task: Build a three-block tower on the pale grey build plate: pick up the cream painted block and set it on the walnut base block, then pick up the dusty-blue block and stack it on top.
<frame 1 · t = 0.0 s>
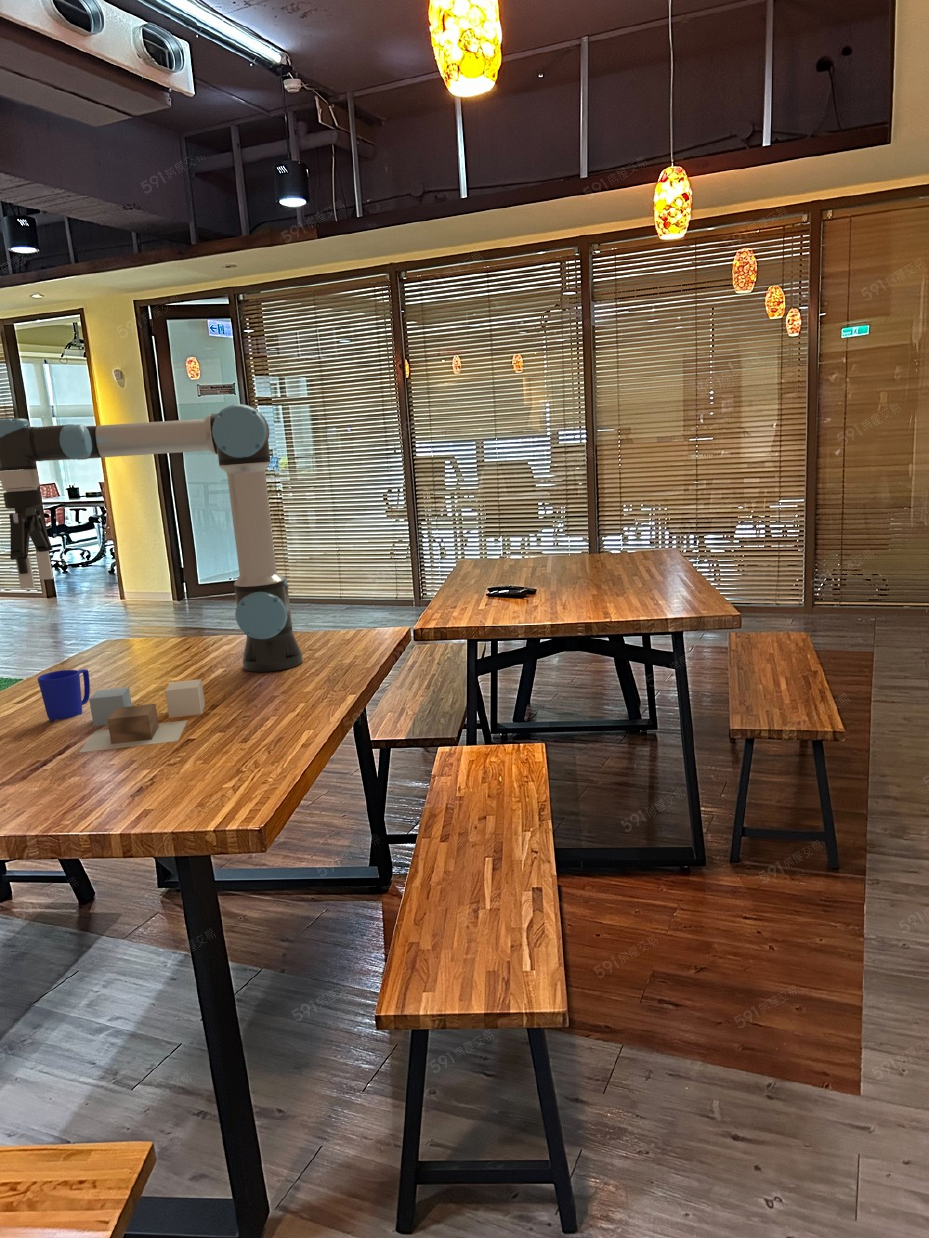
hand: (37, 583, 195), 28 cm above the table, fingers open, 13 cm apart
brick c: (114, 724, 180), on the table
mug: (72, 716, 188), on the table
brick b: (188, 716, 182), on the table
build plate: (136, 740, 168), on the table
base brick: (135, 735, 168), point 1 cm above the table, touching build plate
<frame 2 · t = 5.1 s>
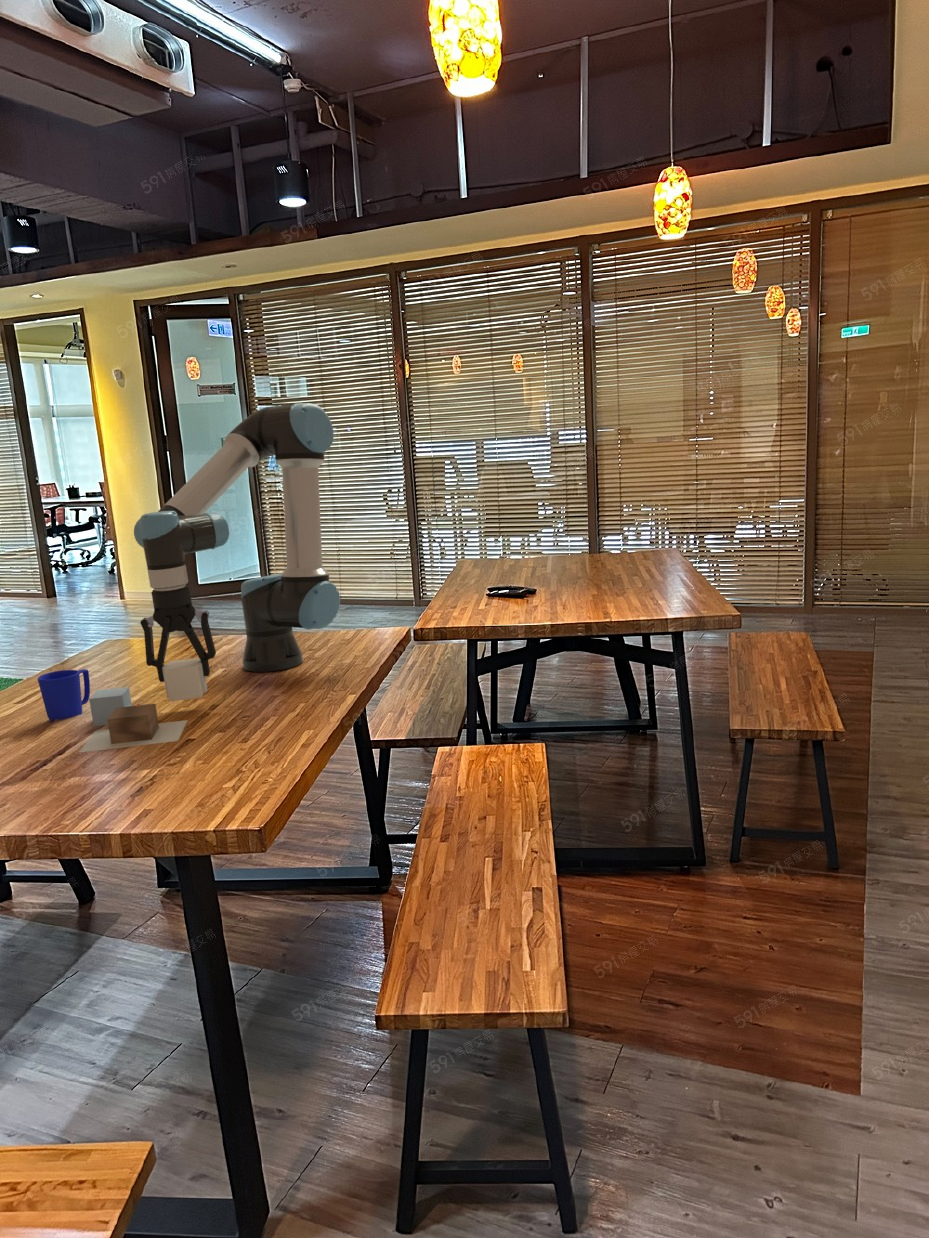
hand: (187, 693, 181), 5 cm above the table, fingers closed on brick b, 6 cm apart
brick b: (187, 695, 182), point 4 cm above the table, touching gripper
everything else where it was.
when the fingers open (8 cm above the table, at t = 8.7 s): brick b drops 1 cm, resting on base brick.
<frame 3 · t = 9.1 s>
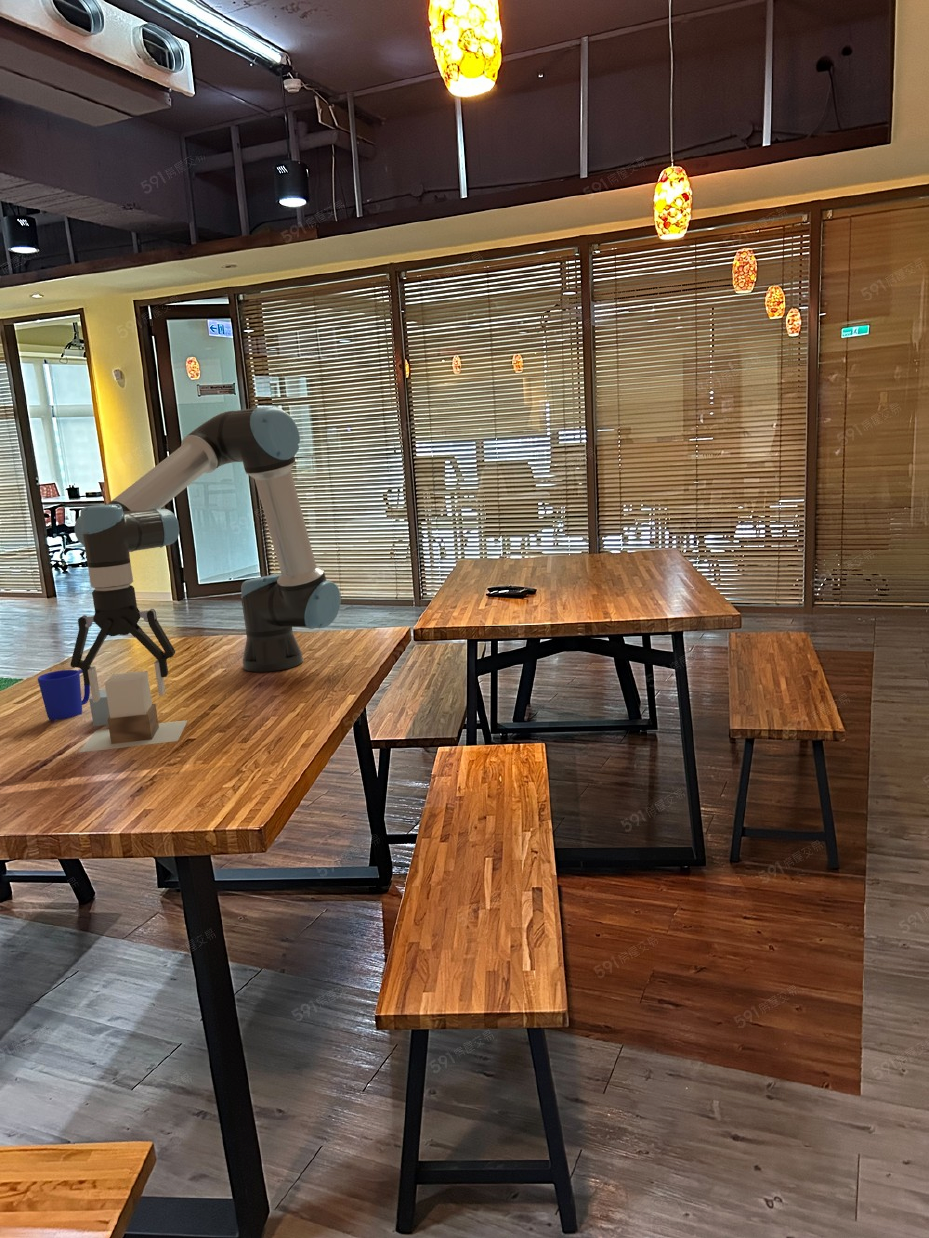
hand: (129, 697, 166), 9 cm above the table, fingers open, 11 cm apart
brick b: (131, 711, 167), point 6 cm above the table, touching base brick
base brick: (135, 735, 168), point 1 cm above the table, touching brick b, build plate
everything else where it was.
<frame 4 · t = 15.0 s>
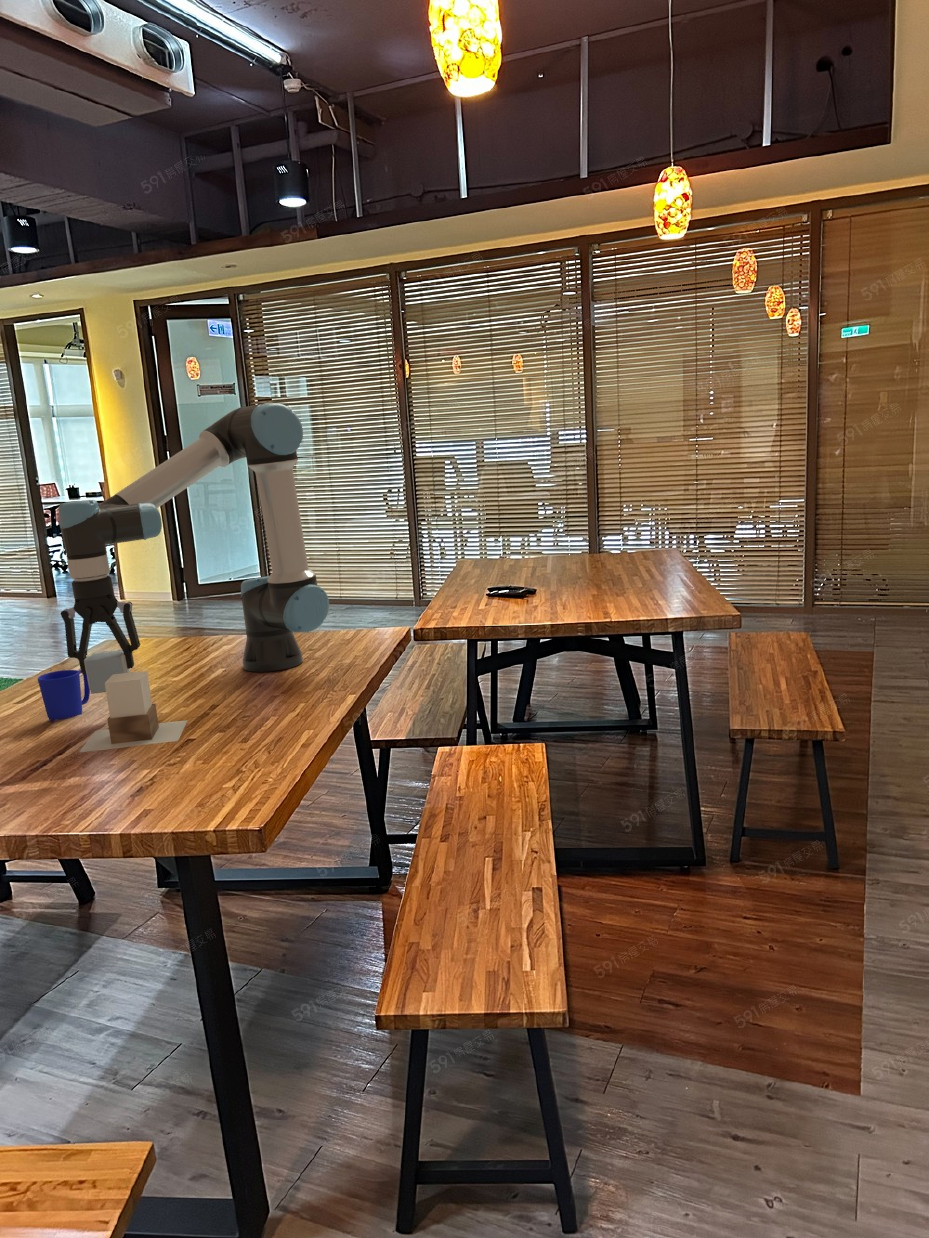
hand: (111, 685, 178), 8 cm above the table, fingers closed on brick c, 6 cm apart
brick c: (111, 687, 178), point 8 cm above the table, touching gripper
everything else where it was.
when the fingers open (15 cm above the table, at t = 18.6 s): brick c drops 1 cm, resting on brick b.
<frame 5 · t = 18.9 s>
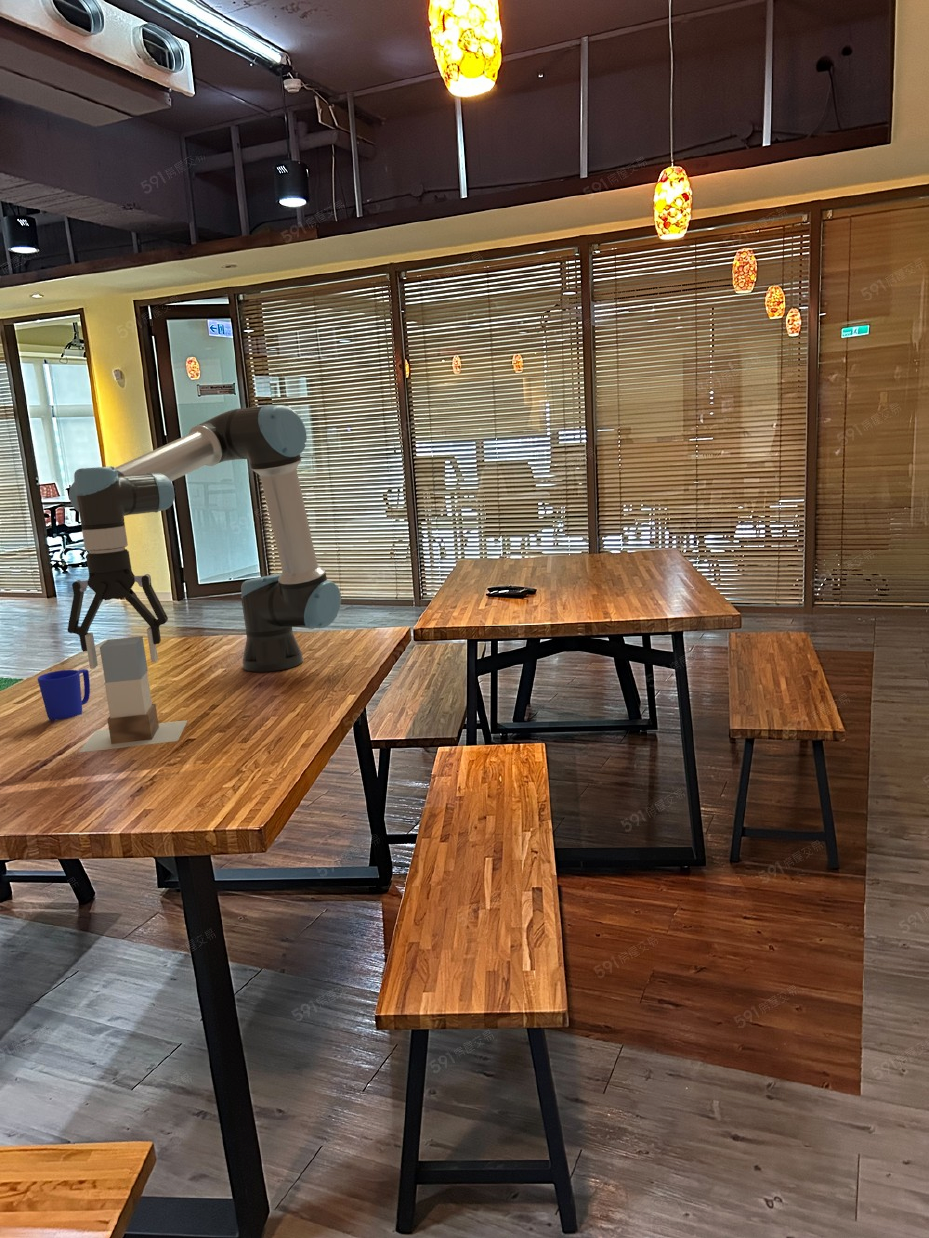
hand: (124, 663, 165), 16 cm above the table, fingers open, 10 cm apart
brick c: (127, 676, 165), point 13 cm above the table, touching brick b
brick b: (131, 711, 167), point 6 cm above the table, touching base brick, brick c
everything else where it was.
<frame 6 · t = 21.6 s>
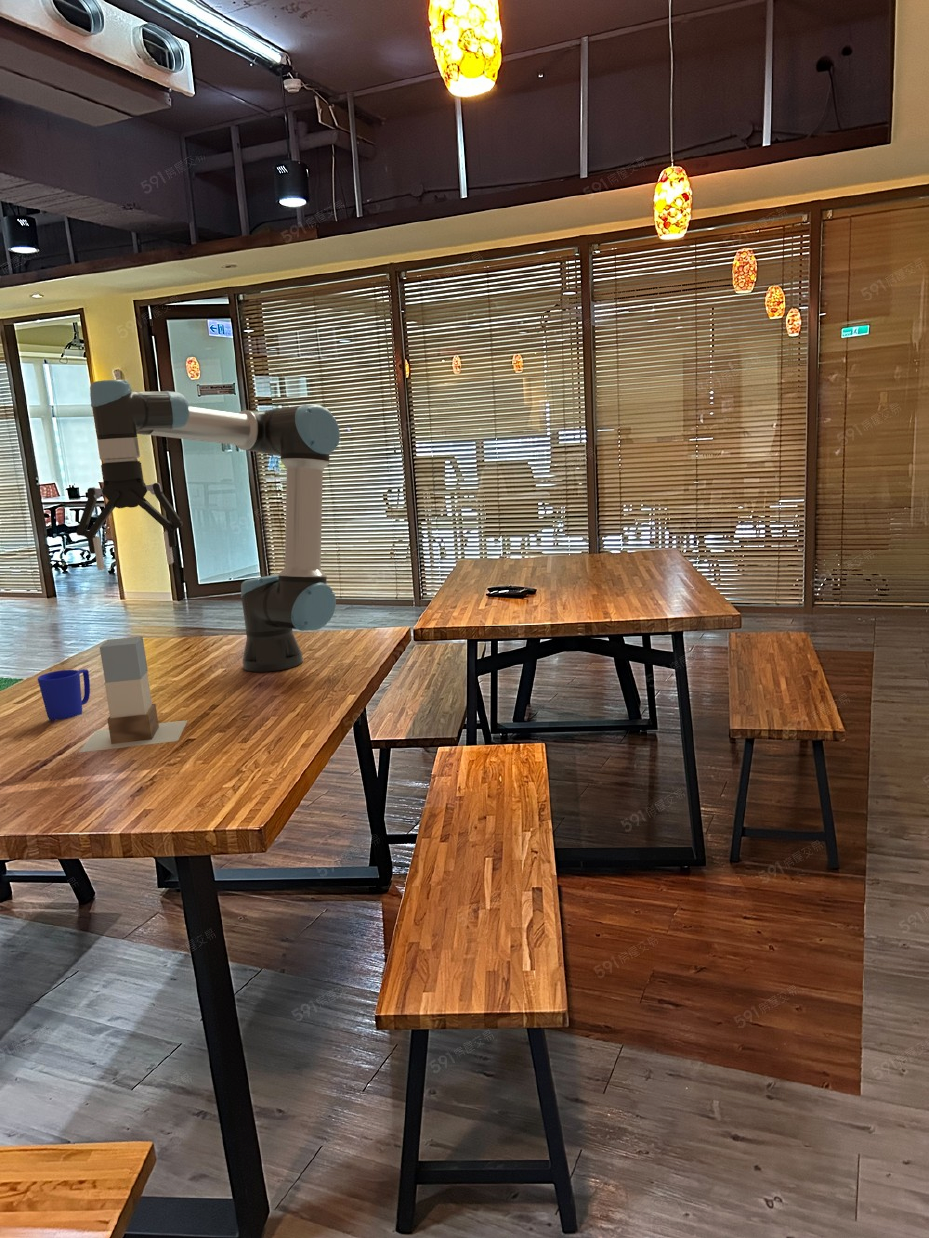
hand: (136, 566, 174), 33 cm above the table, fingers open, 13 cm apart
nothing on the table moved.
at the end: brick b 0.1 cm off-centre on the base brick, point 5.0 cm above the base brick's base; brick c 0.1 cm off-centre on the brick b, point 7.0 cm above the brick b's base; brick c tilted 0° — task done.
